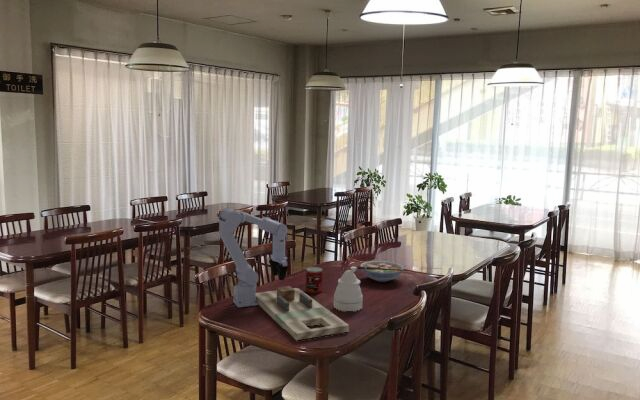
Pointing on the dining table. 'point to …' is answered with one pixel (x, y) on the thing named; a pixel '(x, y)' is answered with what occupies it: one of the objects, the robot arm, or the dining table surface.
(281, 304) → the board
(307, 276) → the canned food
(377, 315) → the dining table surface
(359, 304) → the white santa figurine
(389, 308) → the dining table surface
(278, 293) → the walnut block
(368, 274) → the ramen bowl
